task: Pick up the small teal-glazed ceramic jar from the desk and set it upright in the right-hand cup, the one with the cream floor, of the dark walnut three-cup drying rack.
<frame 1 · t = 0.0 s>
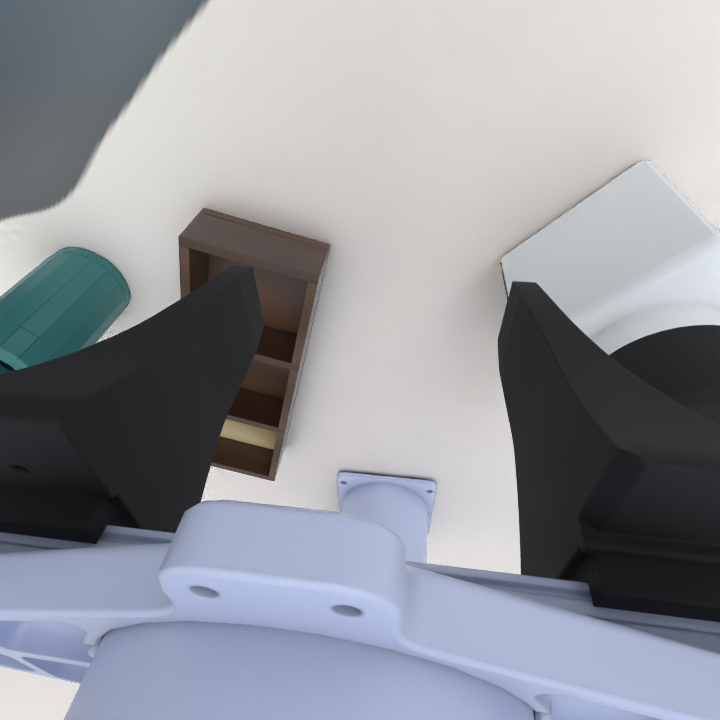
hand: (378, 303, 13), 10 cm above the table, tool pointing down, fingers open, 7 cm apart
jar: (91, 282, 27), on the table
rack: (252, 355, 29), on the table
medicine bottle: (602, 260, 22), on the table
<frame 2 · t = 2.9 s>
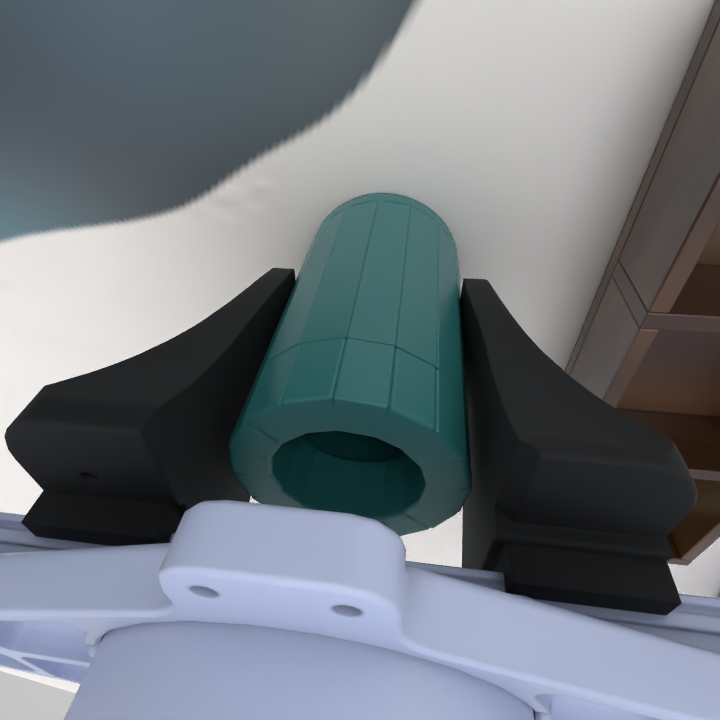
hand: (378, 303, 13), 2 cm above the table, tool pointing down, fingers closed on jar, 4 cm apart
jar: (383, 263, 14), on the table, touching gripper
rack: (680, 344, 15), on the table
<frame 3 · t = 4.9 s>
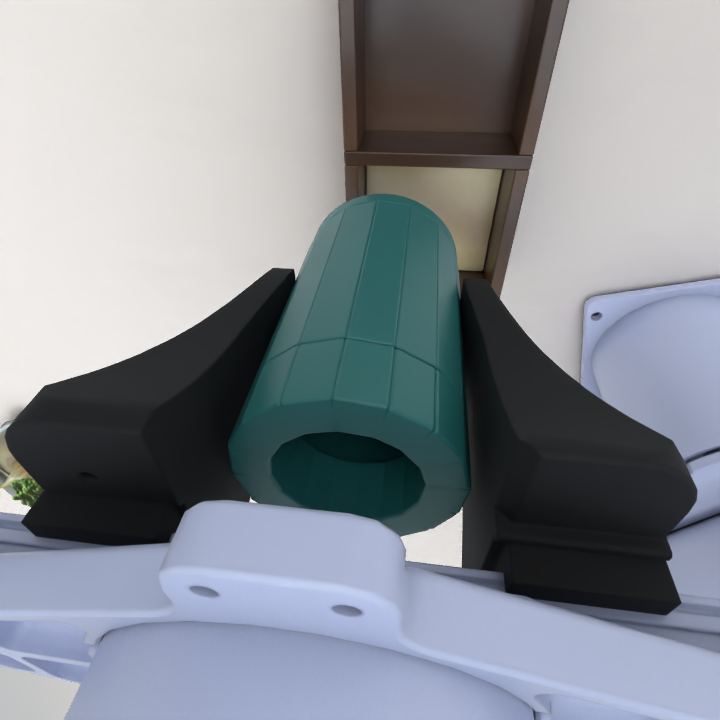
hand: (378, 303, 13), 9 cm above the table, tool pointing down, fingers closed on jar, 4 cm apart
jar: (383, 263, 14), point 7 cm above the table, touching gripper
salad plate: (105, 478, 42), on the table
rack: (444, 42, 16), on the table
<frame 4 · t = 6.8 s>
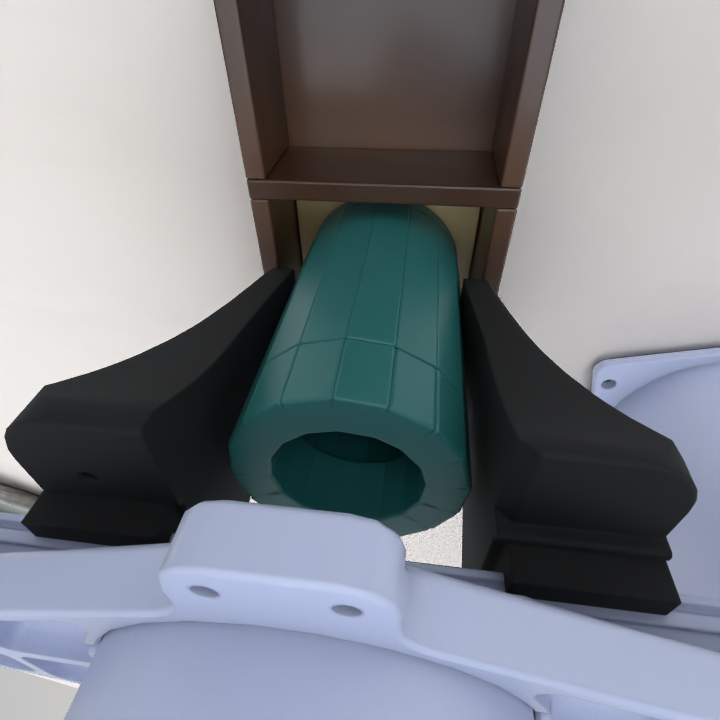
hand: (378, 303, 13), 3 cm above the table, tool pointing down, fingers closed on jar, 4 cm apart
jar: (383, 263, 14), point 1 cm above the table, touching gripper
salad plate: (41, 532, 37), on the table
rack: (392, 21, 11), on the table
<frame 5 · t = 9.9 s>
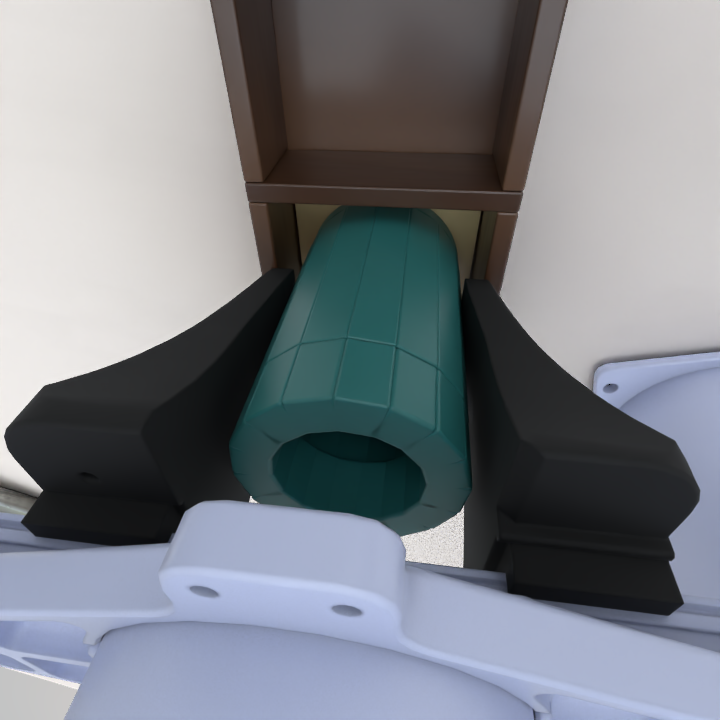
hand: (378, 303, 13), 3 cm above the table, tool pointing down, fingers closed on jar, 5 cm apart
jar: (384, 263, 14), point 1 cm above the table, touching gripper
salad plate: (40, 534, 36), on the table
rack: (392, 22, 11), on the table
when the fingers open (4 cm above the table, at t = 12.6 s): jar drops 1 cm, resting on rack.
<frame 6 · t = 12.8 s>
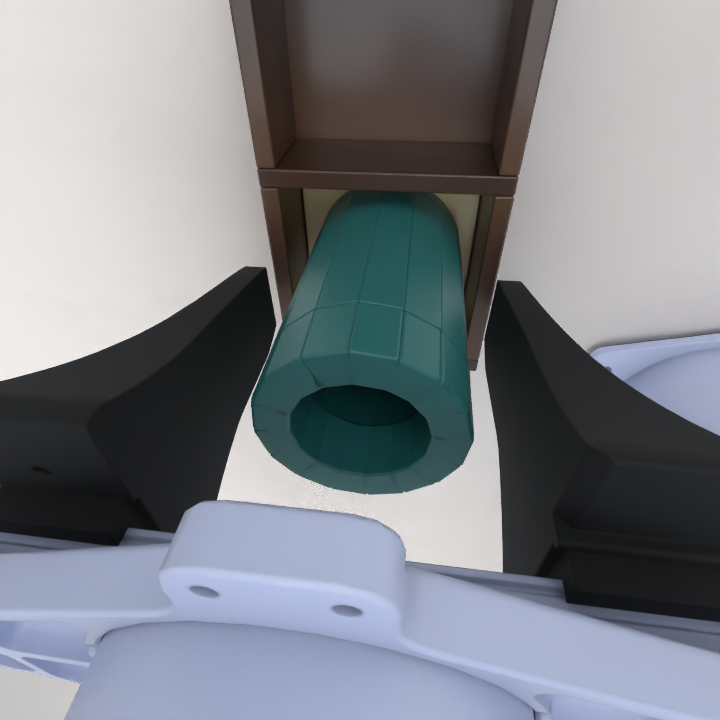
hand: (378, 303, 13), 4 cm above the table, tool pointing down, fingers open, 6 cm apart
jar: (389, 246, 15), point 1 cm above the table, touching rack
rack: (396, 18, 12), on the table
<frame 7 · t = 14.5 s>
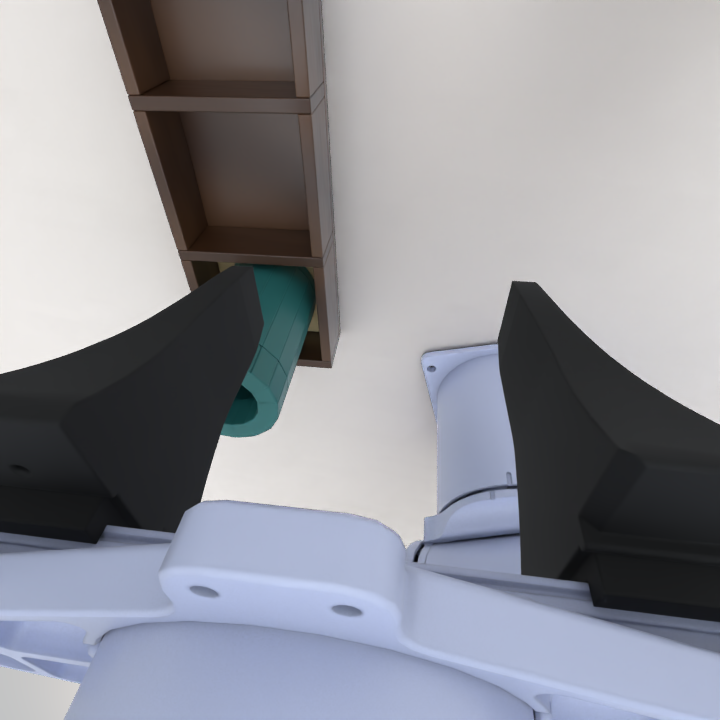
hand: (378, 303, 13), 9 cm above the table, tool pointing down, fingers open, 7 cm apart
jar: (274, 288, 24), point 1 cm above the table, touching rack
rack: (257, 163, 20), on the table
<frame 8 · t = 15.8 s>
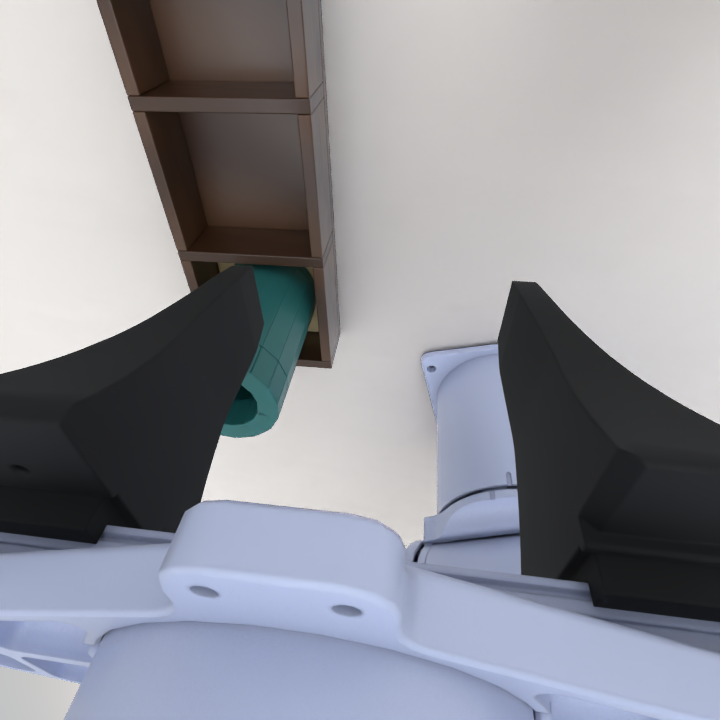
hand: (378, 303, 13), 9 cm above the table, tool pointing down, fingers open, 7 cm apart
jar: (274, 288, 24), point 1 cm above the table, touching rack
rack: (257, 164, 20), on the table
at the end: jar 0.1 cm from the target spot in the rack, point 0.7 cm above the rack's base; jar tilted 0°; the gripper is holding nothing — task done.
